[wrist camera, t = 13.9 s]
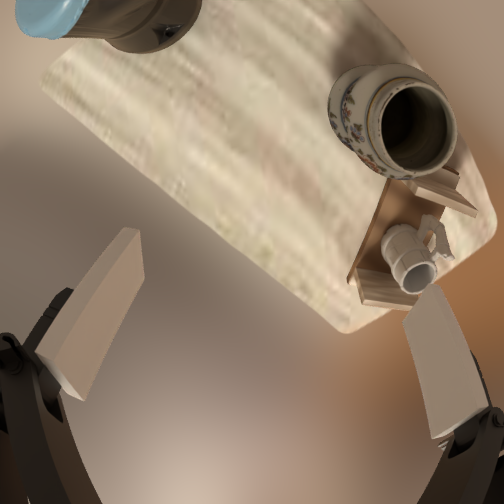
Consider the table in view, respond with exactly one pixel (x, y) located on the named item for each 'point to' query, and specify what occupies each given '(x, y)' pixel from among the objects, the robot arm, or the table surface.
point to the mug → (414, 253)
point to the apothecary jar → (393, 119)
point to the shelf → (399, 212)
